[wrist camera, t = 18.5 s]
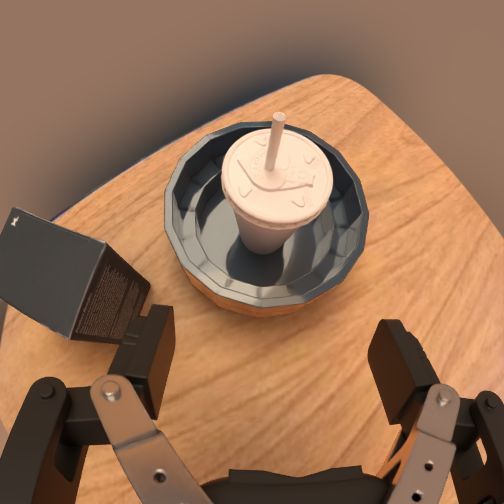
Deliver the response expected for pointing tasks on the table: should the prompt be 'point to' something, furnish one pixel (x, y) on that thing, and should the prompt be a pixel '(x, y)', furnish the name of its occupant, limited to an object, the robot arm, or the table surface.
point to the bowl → (238, 255)
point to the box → (68, 280)
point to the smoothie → (274, 184)
